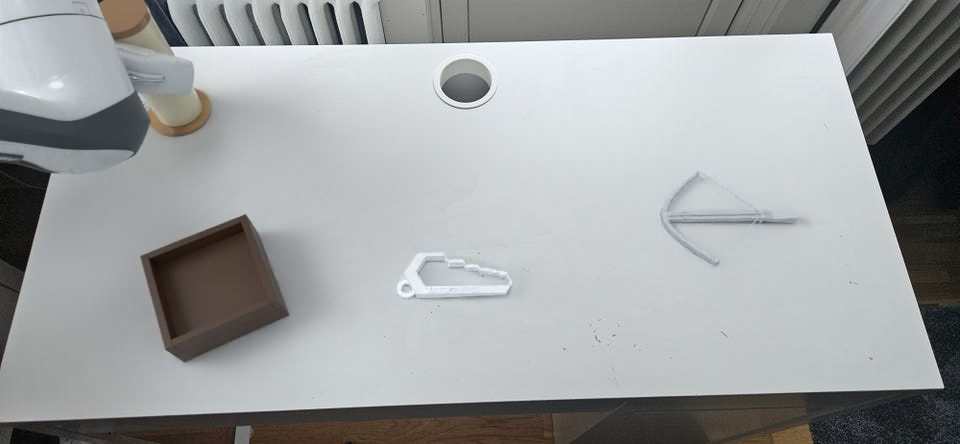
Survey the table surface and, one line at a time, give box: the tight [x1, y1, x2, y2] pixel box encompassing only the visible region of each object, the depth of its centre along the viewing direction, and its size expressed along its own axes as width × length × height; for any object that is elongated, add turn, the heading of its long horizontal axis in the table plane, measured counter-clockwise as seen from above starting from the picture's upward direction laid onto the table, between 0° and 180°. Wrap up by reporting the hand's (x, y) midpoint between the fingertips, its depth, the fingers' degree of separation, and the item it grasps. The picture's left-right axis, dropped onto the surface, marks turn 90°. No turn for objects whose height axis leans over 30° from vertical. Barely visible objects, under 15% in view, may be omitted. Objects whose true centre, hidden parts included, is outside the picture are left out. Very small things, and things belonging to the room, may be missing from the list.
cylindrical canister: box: [98, 0, 202, 127], centre depth 71 cm, size 6×6×16 cm
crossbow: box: [660, 170, 799, 266], centre depth 72 cm, size 16×13×2 cm
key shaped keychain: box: [396, 252, 513, 300], centre depth 67 cm, size 13×5×2 cm, turn 91°
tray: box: [140, 213, 290, 363], centre depth 64 cm, size 12×12×4 cm
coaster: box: [147, 87, 212, 137], centre depth 79 cm, size 8×8×1 cm
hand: (150, 56), depth 71 cm, fingers closed on cylindrical canister, 6 cm apart
